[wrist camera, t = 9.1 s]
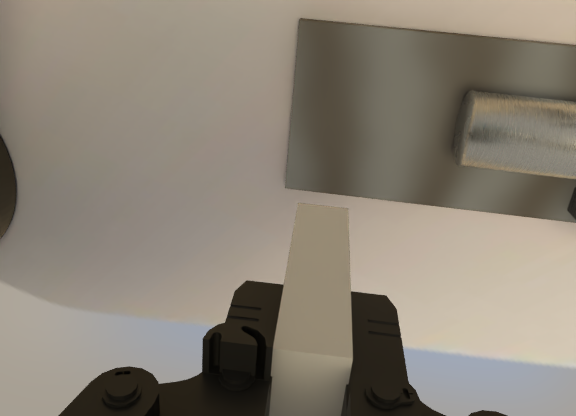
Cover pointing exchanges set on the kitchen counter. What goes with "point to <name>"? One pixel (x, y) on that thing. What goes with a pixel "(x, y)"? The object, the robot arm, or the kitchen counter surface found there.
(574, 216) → the collar
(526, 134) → the tube
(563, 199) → the board
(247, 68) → the kitchen counter surface
